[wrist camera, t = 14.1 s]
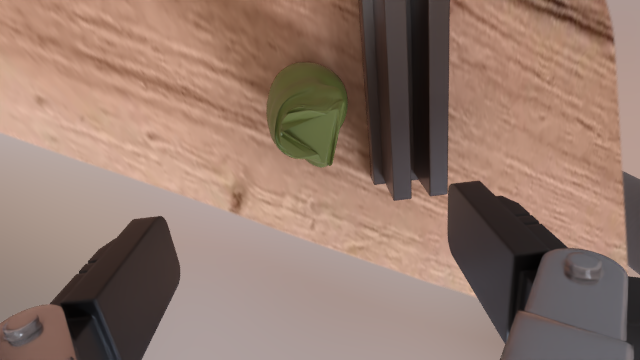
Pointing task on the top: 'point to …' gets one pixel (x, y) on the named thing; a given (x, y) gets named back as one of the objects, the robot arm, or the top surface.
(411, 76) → the holder
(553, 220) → the top surface
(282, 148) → the pear
